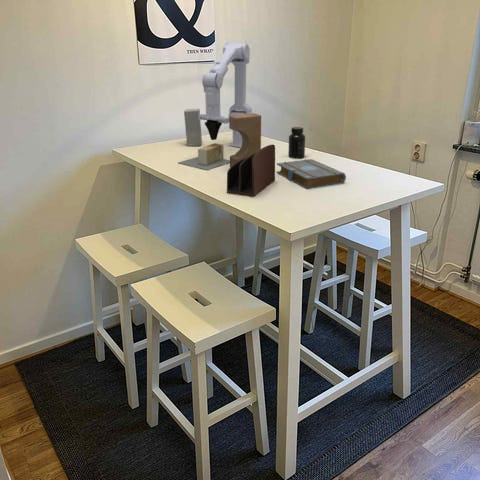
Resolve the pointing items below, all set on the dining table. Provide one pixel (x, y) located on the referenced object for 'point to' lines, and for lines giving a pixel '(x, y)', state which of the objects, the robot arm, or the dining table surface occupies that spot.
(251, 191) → the letter holder
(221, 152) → the skincare box
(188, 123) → the skincare box
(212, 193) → the dining table surface
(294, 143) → the supplement bottle
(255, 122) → the decorative block
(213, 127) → the robot arm
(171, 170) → the dining table surface
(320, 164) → the book
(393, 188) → the dining table surface
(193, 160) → the mat
